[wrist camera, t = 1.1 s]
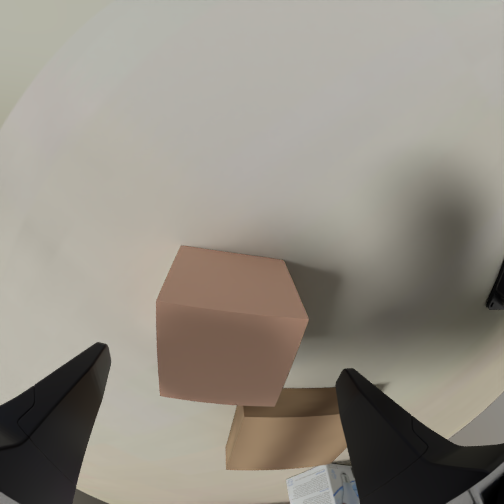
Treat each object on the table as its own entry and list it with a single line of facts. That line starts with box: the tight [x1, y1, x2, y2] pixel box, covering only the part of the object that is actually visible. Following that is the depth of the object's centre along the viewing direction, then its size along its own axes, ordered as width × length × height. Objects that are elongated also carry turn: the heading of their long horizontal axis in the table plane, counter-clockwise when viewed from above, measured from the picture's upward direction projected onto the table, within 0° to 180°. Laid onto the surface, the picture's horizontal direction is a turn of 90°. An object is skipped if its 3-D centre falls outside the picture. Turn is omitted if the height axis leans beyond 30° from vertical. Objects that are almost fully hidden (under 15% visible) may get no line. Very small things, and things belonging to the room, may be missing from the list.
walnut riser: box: [226, 387, 347, 470], centre depth 18 cm, size 10×10×3 cm
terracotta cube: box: [156, 246, 309, 407], centre depth 12 cm, size 5×5×5 cm
